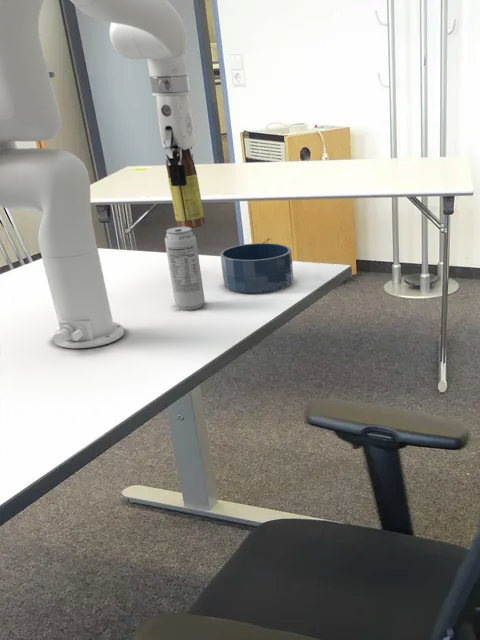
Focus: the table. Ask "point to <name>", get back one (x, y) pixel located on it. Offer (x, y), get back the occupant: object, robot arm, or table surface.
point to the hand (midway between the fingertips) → (183, 181)
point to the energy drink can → (184, 268)
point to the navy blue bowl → (257, 267)
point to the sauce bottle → (187, 195)
